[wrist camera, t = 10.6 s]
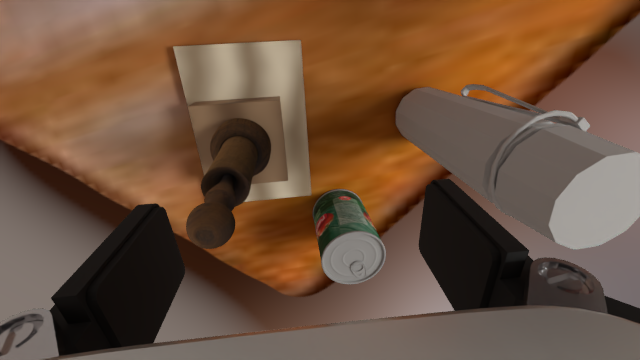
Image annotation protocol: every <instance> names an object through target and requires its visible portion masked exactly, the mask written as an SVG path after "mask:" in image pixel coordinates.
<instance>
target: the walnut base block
mask: <svg viewBox="0 0 640 360" xmlns="http://www.w3.org/2000/svg"><path fill="white" fill-rule="evenodd" d="M188 110H189V114H190V118H191V123H192V127H193V131H194V135H195V139H196V143H197V147H198V152H199V156H200V160H201V164H202V168H203V172H204V176H205V174H206V172H207V171H208V169H209V168H210V166H211V164H212V163H213V159H212V156H211V153H210V143H211V139H212V137H213V135H214V133H215V132H216V130H217V129H218V128H219V126H220V125H222V124H223V123H224V122H226V121H228V120H231V119H236V118H243V119H248V120H251V121H254V122H255V123H257V124H259V125H260V126H261V127H262V128H263V129H264V130H265V131H266V132H267V134H268V136H269V138H270V142H271V154H270V159H269V162H268V164H267V166H266V167H265V169H264V170H263V171H262V172H260V173H259V174H257V175H255V176H253V178H252V183H251V184H259V183H270V182H280V181H288V169H287V159H286V150H285V140H284V130H283V121H282V111H281V102H280V96H274V97H259V98H244V99H230V100H215V101H200V102H194V103H193V104H191V105H190V106H188Z"/></svg>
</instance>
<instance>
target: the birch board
mask: <svg viewBox="0 0 640 360" xmlns="http://www.w3.org/2000/svg"><path fill="white" fill-rule="evenodd" d="M173 49H174V53H175V57H176V61H177V65H178V69H179V73H180V78H181V82H182V86H183V90H184V94H185V98H186V102H187V107H188V106H190V105H191V104H193V103H194V102H200V101H215V100H230V99H244V98H259V97H274V96H280V102H281V111H282V121H283V130H284V140H285V150H286V159H287V169H288V181H280V182H270V183H259V184H251V188H250V192H249V195H248V197H247V199H246V200H245V201H244V202H247V201H257V200H267V199H278V198H288V197H298V196H308V195H311V181H310V167H309V152H308V137H307V123H306V108H305V94H304V79H303V65H302V50H301V40H290V41H271V42H252V43H232V44H213V45H194V46H174V47H173ZM188 111H189V110H188ZM189 115H190V114H189ZM190 119H191V118H190ZM194 136H195V135H194ZM195 140H196V139H195ZM196 144H197V143H196ZM197 148H198V147H197ZM201 165H202V164H201ZM202 169H203V168H202ZM203 173H204V172H203Z"/></svg>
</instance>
